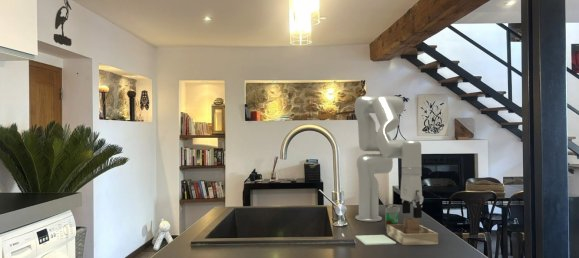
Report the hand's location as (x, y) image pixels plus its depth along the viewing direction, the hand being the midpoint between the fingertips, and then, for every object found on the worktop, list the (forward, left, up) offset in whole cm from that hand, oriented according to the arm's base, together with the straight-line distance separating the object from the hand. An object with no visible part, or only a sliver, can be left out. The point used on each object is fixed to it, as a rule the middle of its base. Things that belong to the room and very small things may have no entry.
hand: (411, 215), depth 159 cm
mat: (0, -15, -9) cm, 18 cm away
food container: (-18, 0, -10) cm, 21 cm away
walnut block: (0, 0, -9) cm, 9 cm away
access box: (0, 0, -9) cm, 9 cm away
